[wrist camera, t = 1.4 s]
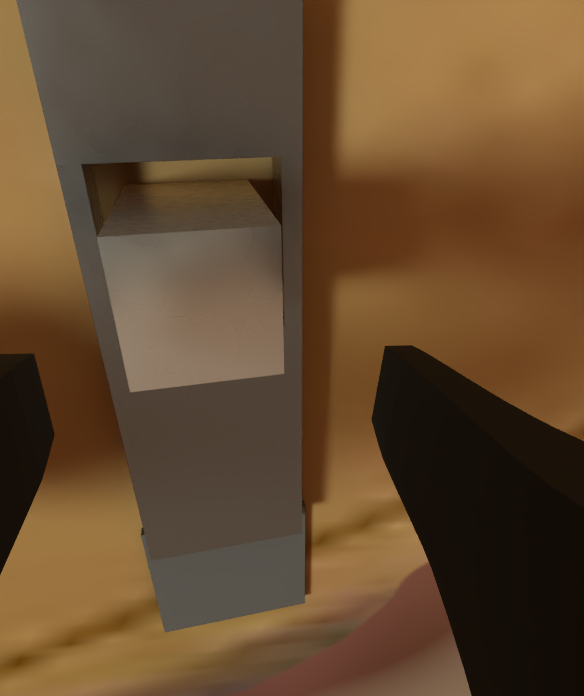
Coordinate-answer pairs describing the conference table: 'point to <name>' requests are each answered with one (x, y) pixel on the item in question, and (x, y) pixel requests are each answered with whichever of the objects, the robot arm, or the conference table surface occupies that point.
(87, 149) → the rail
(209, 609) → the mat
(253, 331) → the pale grey square block
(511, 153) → the conference table surface
